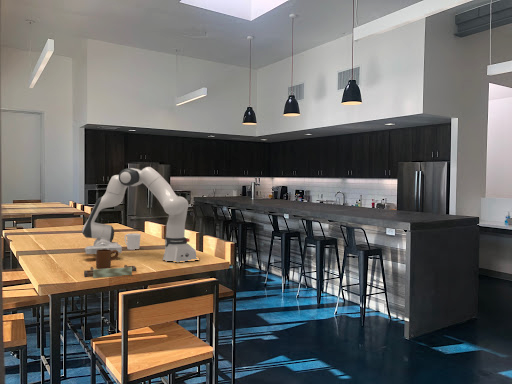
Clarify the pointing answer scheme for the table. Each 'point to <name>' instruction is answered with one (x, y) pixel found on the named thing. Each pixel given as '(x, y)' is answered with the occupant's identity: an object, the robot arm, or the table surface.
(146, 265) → the table surface
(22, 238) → the table surface
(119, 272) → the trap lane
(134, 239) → the mug
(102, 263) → the mug
